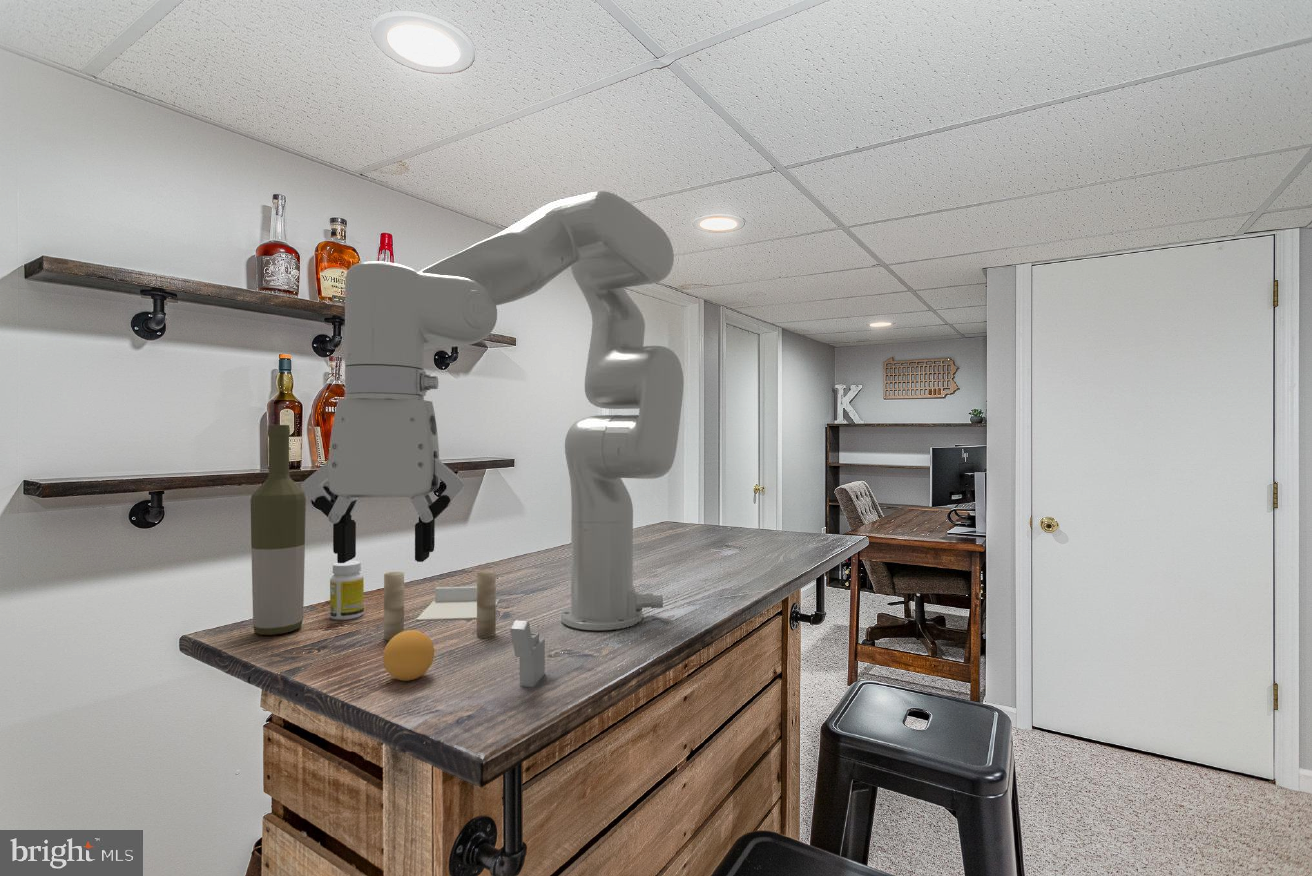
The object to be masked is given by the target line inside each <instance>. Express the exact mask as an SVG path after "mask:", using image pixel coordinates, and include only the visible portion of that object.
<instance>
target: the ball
mask: <svg viewBox="0 0 1312 876" xmlns="http://www.w3.org/2000/svg"><path fill="white" fill-rule="evenodd" d="M434 658H435V646H434V644H433V642H432V639H431V638H430V637H429V635H427V634H426V633H424V632H422V631H420V630H415V629H408V630H404V631H403V632H401V633H399V634H397V635H395V636H394V637H393V638H392V639H391V640H390V641H387V644H386V645H385V648H384V651H383V655H382V661H383V666H384V668H385V670H386V672H387V674H389V675H390V676H391V677H392V678H394V679H396V680H398V681H406V682H408V681H413V680H416V679H418V678H420V677H422V676H423V675H424V674H425V673H427V671H428V670H429V669H430V668H431V666H432V664H433V662H434Z"/></svg>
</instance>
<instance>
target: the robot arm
mask: <svg viewBox="0 0 1312 876" xmlns="http://www.w3.org/2000/svg"><path fill="white" fill-rule="evenodd" d="M674 256H675V253H674V249H673V244H672V242H671V240H670V238H669V236H668V235H667V233H666V232H665V230H664V229H663V228H662V227H661V226H660V225H659V224H658V223H657V222H655V221H654V220H653V219H651V218H650V217H649V216H647V215H646V214H645V213H643V212H642V211H641V210H639V208H637V207H636V206H635V205H633V204H632V203H630V202H629V201H627V200H626V199H624V198H622V197H621V196H619V195H617V194H615V193H613V192H610V191H606V190H605V191H604V190H599V191H593V192H588V193H584V194H580V195H576V196H571V197H567V198H563V199H559V200H556V201H553V202H550V203H548V204H546V205H544V206H542V207H540V208H538V209H537V210H535V211H534V212H532V213H531V214H529V215H527V216H525V217H524V218H522V219H521V220H519V221H517V222H515V223H514V224H512V225H510V226H509V227H507V228H505V229H504V230H502V231H500V232H499V233H497V234H495V235H492V236H491V237H489V238H486V239H483V240H482V241H479V242H476V243H475V244H473V245H471V246H470V247H467V248H466V249H464V250H461V251H460V252H457V253H455V254H453V255H451V256H448V257H446V258H444V259H441V260H439V261H437V262H435V263H433V264H430V265H429V266H427V267H425V268H423V269H422V270H420V271H416V270H415V269H414V268H411V267H408V266H406V265H403V264H399V263H395V262H387V261H363V262H358V263H355V264H354V265H351V266H350V267H349V268H348V270H347V271H346V274H345V278H344V279H345V280H344V281H345V282H344V398H342V399H341V398H339V399H337V402H336V403H337V404H336V407H335V411H334V412H335V413H334V416H333V422H332V426H331V434H330V441H329V450H328V451H329V452H328V461H327V462H326V463H324V464H323V465H322V466H321V467H320V468H318V469H316V471H314V472H313V473H312V474H311V475H310V476H308V477H307V478H306V479H305V480H303V481H302V482H301V484H300V488H301V489H302V490H303V491H304V492H305V495H306V496H307V497H308V498H309V499H310V500H311V501H313V503H314V506H315V507H317V509H318V510H319V511H320V512H322V514H324V515H325V516H326V517H327V519H328V522H329V523H330V524H332V528H333V529H332V543H333V544H332V550H333V553H334V554H336V556H337V558H336V560H337V562H338V563H345V562H347V561H352V560H353V559H354V558H356V553H357V543H356V542H357V522H356V521H355V519H352V513H353V512H354V509H355V508H356V506H357V504H358V502H359V500H360V498H409V499H410V501H411V503H412V505H413V507H414V508H415V510H416V512H417V514H418V521H417V522H416V523H415V524H414V561H416V562H417V563H421V562H422V563H423V562H425V561H426V560H427V559H429V557H430V553H433V552H434V551H435V539H436V538H435V533H436V532H435V531H436V530H435V521H436V519H438V518H439V516H440V515H441V514H442V513H443V512H444V511H445V510H446V509H447V508H448V507H449V506H450V505H451V504H452V503H453V501H454V500H455V499H456V498H457V496H459V495H460V494H461V492H462V491H463V490H464V489H465V487H466V481H465V480H464V479H463V478H461V477H460V476H459V475H458V474H456V473H455V472H454V471H453V470H452V469H451V468H450V467H448V466H447V464H446V465H445V463H443V462H442V461H441V460H440V449H439V436H438V428H437V427H438V425H437V420H436V419H437V418H436V414H435V413H436V412H435V409H434V405H433V401H431V400H425V397H426V396H427V393H428V391H431V390H438V389H439V377H438V376H436V375H435V376H434V375H433V376H432V375H430V374H428V373H427V371H425V350H431V349H440V348H443V349H444V348H455V347H465V346H471V345H473V344H476V343H479V342H481V341H484V340H485V339H486V338H487V337H488V336H489V335H490V334H491V333H492V332H493V330H494V328H495V326H496V324H497V321H498V308H497V306H500V305H504V304H508V303H513V302H515V301H519V300H521V299H523V298H526V297H528V296H531V295H533V294H535V293H537V292H539V290H541V289H542V288H544V287H545V286H546V285H547V284H549V283H550V282H551V281H553V280H554V279H555V278H556V277H557V276H559V275H560V274H562V273H563V272H564V271H566V270H567V269H568V268H570V269H571V273H572V276H573V279H574V280H575V282H576V283H577V285H578V288H579V289H580V290H581V292H582V294H583V296H584V298H585V300H586V302H587V304H588V308H589V310H590V314H591V322H592V324H591V326H592V327H591V335H590V341H589V349H588V354H587V361H586V368H585V369H586V370H585V376H584V393H585V397H586V399H587V400H588V402H589V403H590V404H592V405H593V406H595V407H597V408H600V409H607V410H608V409H609V410H610V409H611V410H624V409H625V410H628V409H629V410H630V409H631V410H632V409H633V410H634V409H635V410H636V409H639V413H638V414H626V415H625V414H604V415H603V414H599V415H590V416H585V417H582V418H581V419H578V420H577V421H575V422H574V423H573V424H572V425H571V426H569V427H570V428H569V429H568V430H567V433H566V436H565V438H564V439H565V440H564V453H565V461H566V465H567V466H566V467H567V469H568V476H569V483H570V497H571V518H570V519H571V520H570V521H571V523H570V524H571V525H570V526H571V529H570V530H571V532H570V533H571V542H570V543H571V544H570V546H571V548H570V549H571V550H570V551H571V552H570V554H571V559H570V560H571V566H570V568H571V569H570V570H571V577H570V581H571V582H570V583H571V585H570V588H571V590H570V592H571V593H570V595H571V596H570V598H571V599H570V604H571V605H570V606H568V607H566V608H565V609H563V610H562V611H561V614H560V620H561V622H562V624H564V625H565V626H568V627H570V628H573V629H579V630H584V631H612V630H613V631H614V629H615V630H622V629H625V628H626V627H627V628H630V627H633V626H635V625H634V624H636V625H638V624H639V623H640V622H641V621H642V620H643V615H644V614H643V608H647V609H648V608H650V609H662V608H664V607H663V605H664V598H663V595H662V594H661V595H660V594H657V595H654V593H650V592H649V593H639V592H636V589H635V586H634V575H633V573H634V571H633V570H634V568H633V567H634V565H633V564H634V563H633V562H634V538H633V537H634V506H633V501H632V497H631V495H630V492H629V491H628V489H627V487H626V485H625V483H624V481H623V479H637V480H638V479H641V480H642V479H644V480H645V479H647V480H649V479H650V480H652V479H653V480H654V479H658V478H661V477H664V476H665V475H666V474H667V473H669V471H670V470H671V468H672V467H673V464H674V462H675V457H676V453H677V447H678V442H679V440H678V439H679V430H680V424H681V423H680V422H681V416H682V406H683V400H684V399H683V397H684V382H685V381H684V380H685V379H684V372H683V368H682V364H681V361H680V358H679V357H678V355H677V354H676V353H675V351H673V350H672V349H671V348H668V347H667V346H662V345H644V342H645V332H646V331H645V330H646V323H645V319H644V316H643V314H642V311H641V310H640V308H639V307H638V305H637V304H636V303H635V301H634V300H633V299H632V298H631V296H630V295H629V294H628V292H627V291H626V289H625V288H630V287H631V288H632V287H638V286H645V285H652V284H657V283H659V282H662V281H663V280H665V279H666V278H667V277H668V275H670V273H671V271H672V270H673V269H672V268H673V266H674V263H675V262H674V260H675V258H674ZM441 481H442V482H443V483H444V484H445V485H446V489H445V490H444V491H443V492H442V493H441V495H440V496H438V497H437V498H436V499H435V500H433V498H432V496H431V494H430V493H433V492H435V491H436V490H438V489H439V487H440V485H441V484H440V483H441ZM327 482H328V483H327ZM325 483H327V484H328V489H329V491H330V492H331V493H332V494H333V495H334V496H337V499H335V498H334V497H333V496H331V495H330V494H328V493H327V491H326V490H325V487H324V485H325ZM337 562H336V563H337ZM638 622H639V623H638ZM637 623H638V624H637ZM629 626H630V627H629ZM621 628H622V629H621ZM627 628H626V629H627Z"/></svg>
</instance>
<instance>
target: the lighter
mask: <svg viewBox="0 0 1312 876" xmlns="http://www.w3.org/2000/svg"><path fill="white" fill-rule="evenodd" d="M530 626H531V625H530V621H528V620H517V619H516V620H514V621H513V623H512V625H511V627H510V629H509V632H510V636H511V637H510V638H511V641H512V647H513V650H514V652H513V653H514V656H515V657H516V658H519V686H520V687H531V688H533V687H535V686H536V685H537V684H538V683H539V682H540V680H541V679H542V678H543V677H544V676H545V674H546V671H545V670H546V668H545V667H546V664H545V663H546V661H545V660H546V654H545V653H546V647H545V645H546V642H545V641H546V639H545V637H540V632H536V631H535V632H532V631H531V627H530Z"/></svg>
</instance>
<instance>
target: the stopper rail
mask: <svg viewBox="0 0 1312 876" xmlns="http://www.w3.org/2000/svg"><path fill="white" fill-rule="evenodd" d="M434 601H435V602H469V601H477V585H473V586H471V585H470V586H469V585H468V586H437V587H435V589H434Z"/></svg>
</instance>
